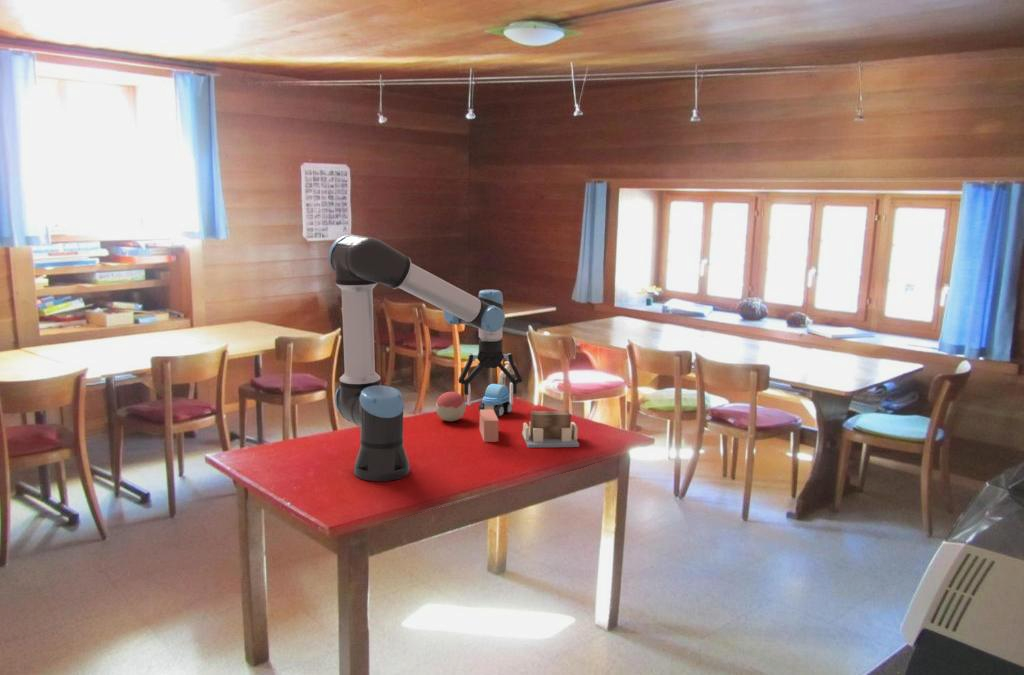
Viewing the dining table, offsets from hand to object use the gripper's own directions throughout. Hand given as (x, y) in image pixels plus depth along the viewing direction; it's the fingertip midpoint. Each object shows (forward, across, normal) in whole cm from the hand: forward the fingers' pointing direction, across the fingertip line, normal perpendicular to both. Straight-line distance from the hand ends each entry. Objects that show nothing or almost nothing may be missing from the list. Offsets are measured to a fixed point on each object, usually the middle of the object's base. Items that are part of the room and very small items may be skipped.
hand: (490, 403), depth 256 cm
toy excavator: (+11, +6, +28) cm, 31 cm away
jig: (+11, +18, -6) cm, 22 cm away
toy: (+11, -12, +18) cm, 24 cm away
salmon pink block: (+11, 0, 0) cm, 11 cm away
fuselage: (+10, +18, -6) cm, 22 cm away
